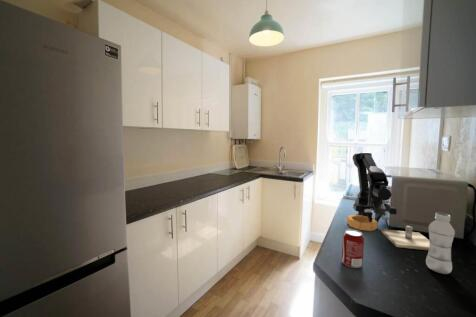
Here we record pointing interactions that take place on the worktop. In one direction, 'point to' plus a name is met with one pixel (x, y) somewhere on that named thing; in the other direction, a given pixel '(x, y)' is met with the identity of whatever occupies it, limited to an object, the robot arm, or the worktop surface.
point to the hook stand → (407, 238)
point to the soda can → (352, 248)
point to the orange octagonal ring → (361, 222)
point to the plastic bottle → (440, 244)
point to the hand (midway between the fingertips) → (373, 224)
